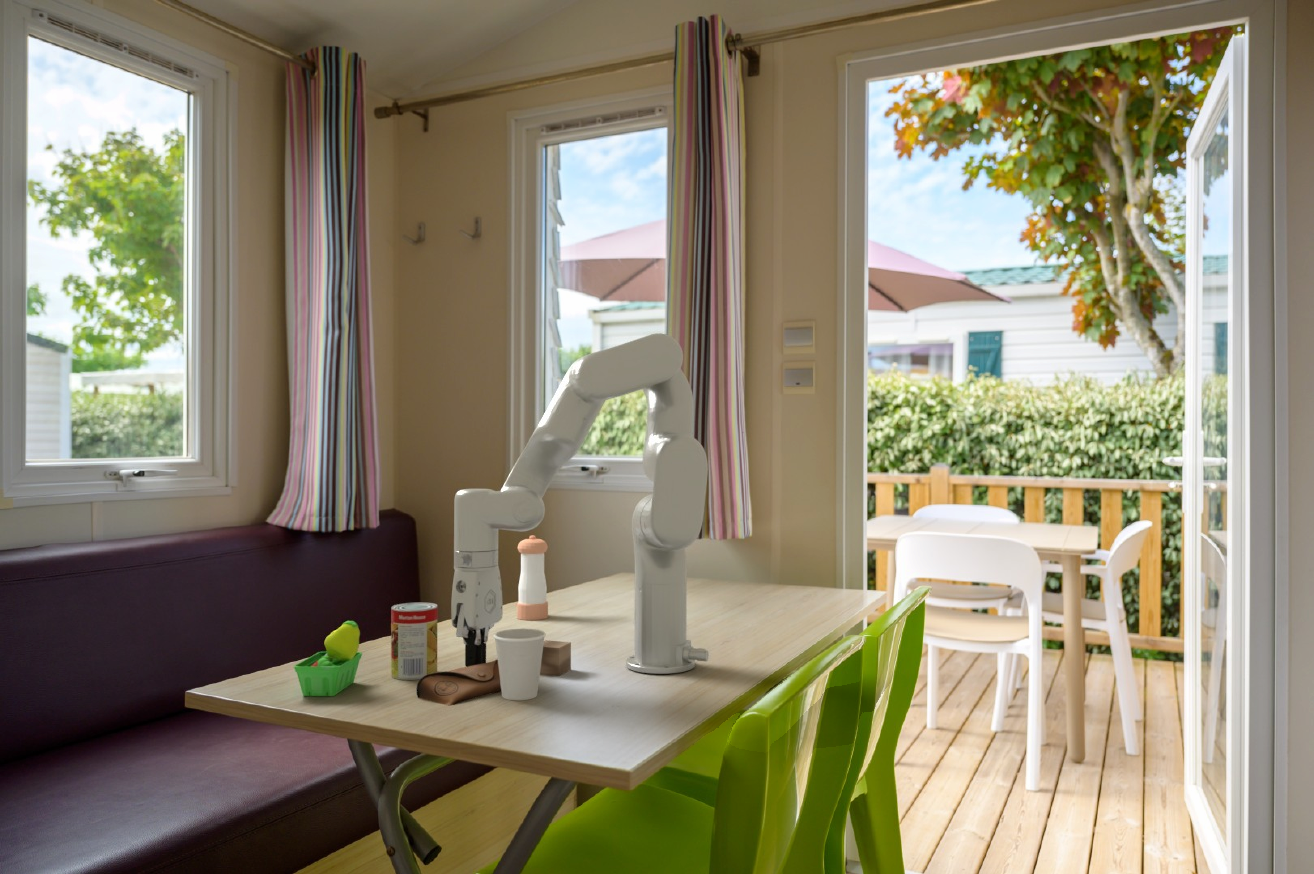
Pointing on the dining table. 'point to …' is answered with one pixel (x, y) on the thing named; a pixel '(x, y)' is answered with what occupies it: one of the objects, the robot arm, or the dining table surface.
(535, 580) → the pepper shaker
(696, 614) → the dining table surface
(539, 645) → the dixie cup
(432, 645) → the canned food
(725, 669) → the dining table surface
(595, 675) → the dining table surface
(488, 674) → the sunglasses case
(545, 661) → the walnut block
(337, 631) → the fruit basket
